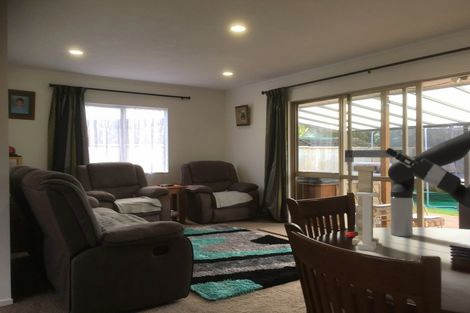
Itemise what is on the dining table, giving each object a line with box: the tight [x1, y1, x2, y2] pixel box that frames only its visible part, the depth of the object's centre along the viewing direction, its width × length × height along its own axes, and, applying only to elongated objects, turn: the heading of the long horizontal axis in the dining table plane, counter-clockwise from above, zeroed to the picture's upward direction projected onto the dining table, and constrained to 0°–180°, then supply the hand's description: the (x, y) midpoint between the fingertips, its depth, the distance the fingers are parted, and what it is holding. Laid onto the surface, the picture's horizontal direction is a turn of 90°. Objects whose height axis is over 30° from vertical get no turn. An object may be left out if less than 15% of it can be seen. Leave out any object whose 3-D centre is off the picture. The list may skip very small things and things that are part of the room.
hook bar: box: [344, 149, 404, 163], centre depth 151 cm, size 3×22×5 cm, turn 60°
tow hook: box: [344, 207, 358, 238], centre depth 168 cm, size 8×13×9 cm
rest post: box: [354, 191, 380, 252], centre depth 144 cm, size 6×8×22 cm
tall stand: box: [351, 164, 380, 247], centre depth 152 cm, size 8×9×32 cm
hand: (387, 150), depth 148 cm, fingers closed on hook bar, 3 cm apart
